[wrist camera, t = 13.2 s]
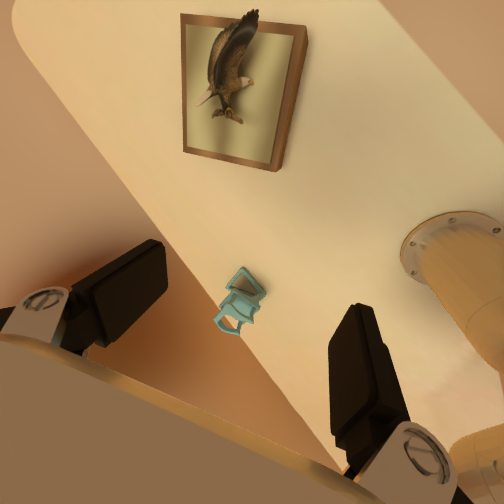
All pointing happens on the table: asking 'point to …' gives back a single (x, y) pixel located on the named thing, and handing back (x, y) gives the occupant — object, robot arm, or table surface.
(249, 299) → the chair
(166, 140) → the table surface
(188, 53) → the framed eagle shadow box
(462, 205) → the table surface
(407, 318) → the table surface
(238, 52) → the eagle figurine
